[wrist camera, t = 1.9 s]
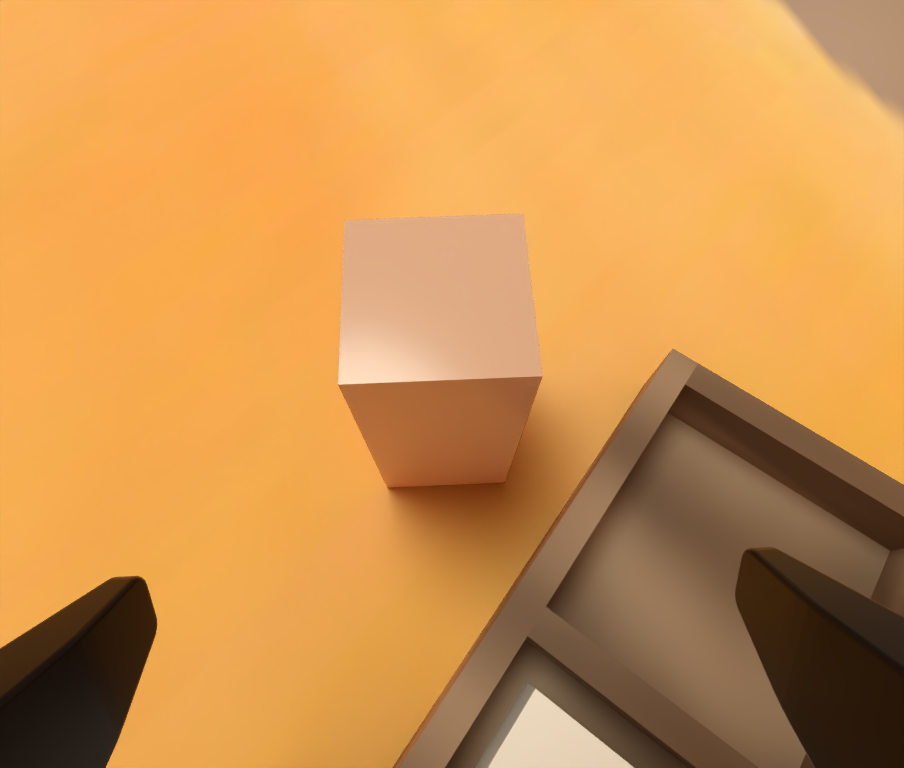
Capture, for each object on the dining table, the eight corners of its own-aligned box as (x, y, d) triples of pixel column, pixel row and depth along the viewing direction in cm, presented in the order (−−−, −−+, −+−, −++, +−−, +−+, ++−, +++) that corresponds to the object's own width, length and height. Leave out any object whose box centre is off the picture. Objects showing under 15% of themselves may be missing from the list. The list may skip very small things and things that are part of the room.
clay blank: (504, 482, 22) (542, 376, 12) (387, 487, 22) (338, 384, 12) (495, 375, 23) (523, 213, 14) (387, 380, 23) (344, 219, 14)
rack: (644, 383, 23) (672, 348, 20) (911, 547, 21) (987, 534, 18) (297, 911, 17) (264, 973, 14) (626, 1253, 14) (673, 1422, 11)
